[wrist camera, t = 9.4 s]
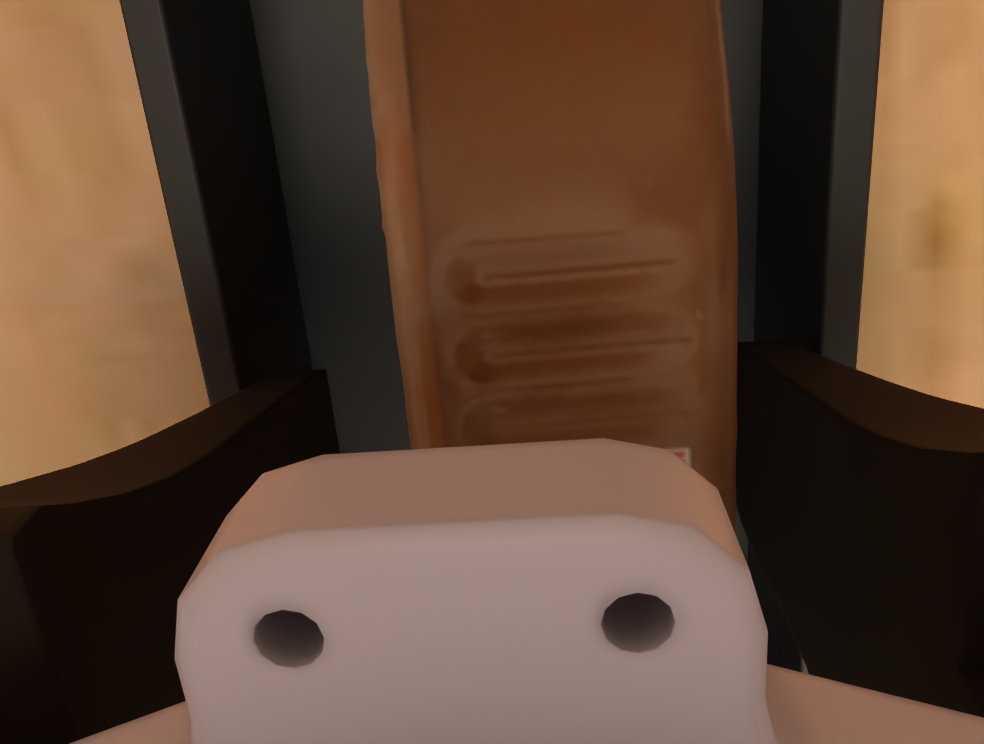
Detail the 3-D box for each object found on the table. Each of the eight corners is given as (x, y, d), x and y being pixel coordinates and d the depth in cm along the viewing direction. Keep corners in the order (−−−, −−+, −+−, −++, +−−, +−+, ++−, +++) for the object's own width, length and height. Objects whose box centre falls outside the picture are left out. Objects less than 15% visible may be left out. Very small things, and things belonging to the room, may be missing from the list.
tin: (396, -156, 13) (181, -408, 5) (626, -179, 12) (793, -484, 5) (487, 695, 18) (456, 1214, 10) (644, 690, 18) (732, 1215, 10)
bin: (760, 736, 19) (816, 914, 15) (363, 751, 20) (324, 926, 16) (800, -330, 12) (922, -475, 8) (180, -259, 13) (35, -366, 9)
